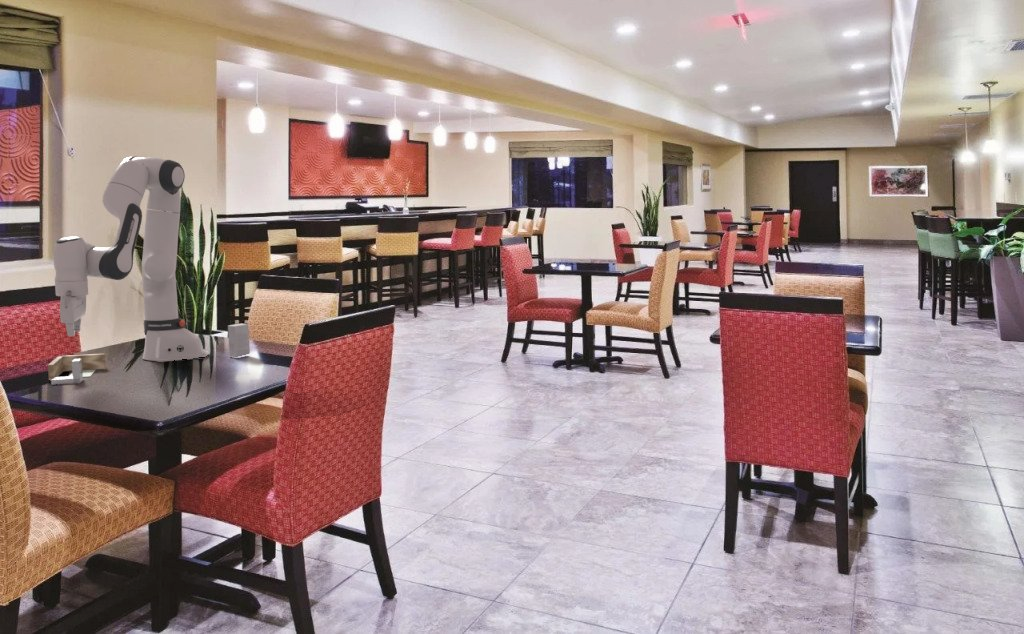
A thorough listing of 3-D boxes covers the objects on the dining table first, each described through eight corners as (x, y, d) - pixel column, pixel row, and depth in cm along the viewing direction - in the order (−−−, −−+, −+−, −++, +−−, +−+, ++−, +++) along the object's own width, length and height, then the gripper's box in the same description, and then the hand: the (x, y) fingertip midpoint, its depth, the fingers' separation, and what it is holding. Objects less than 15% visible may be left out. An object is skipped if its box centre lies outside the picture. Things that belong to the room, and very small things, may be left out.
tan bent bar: (106, 368, 270) (105, 353, 270) (98, 377, 255) (97, 362, 255) (59, 370, 266) (58, 355, 265) (48, 380, 251) (47, 365, 250)
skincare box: (242, 355, 294) (241, 323, 292) (250, 356, 291) (248, 324, 290) (228, 357, 289) (227, 325, 287) (236, 359, 286) (234, 326, 285)
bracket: (83, 380, 252) (81, 358, 251) (80, 383, 248) (78, 360, 247) (54, 381, 249) (52, 359, 248) (51, 384, 245) (49, 362, 244)
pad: (95, 370, 267) (95, 369, 267) (90, 376, 256) (90, 376, 256) (73, 371, 264) (73, 370, 264) (67, 378, 254) (66, 377, 254)
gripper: (77, 292, 237) (79, 338, 238) (88, 286, 256) (91, 328, 258) (53, 293, 235) (55, 339, 236) (66, 286, 254) (69, 329, 256)
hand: (74, 333), depth 247 cm, fingers open, 8 cm apart
